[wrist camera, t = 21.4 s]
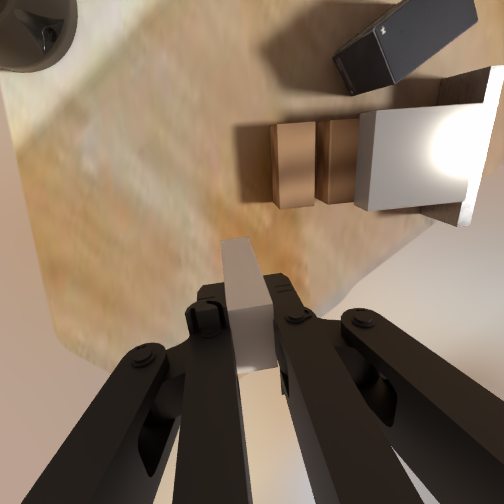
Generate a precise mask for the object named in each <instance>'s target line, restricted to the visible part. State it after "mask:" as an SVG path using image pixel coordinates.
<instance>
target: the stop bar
mask: <svg viewBox="0 0 504 504" xmlns="http://www.w3.org/2000/svg"><path fill="white" fill-rule="evenodd" d="M503 79H504V65H501V66H490V67H486V68H482V69H478V70H475V71H471V72H467V73H463V74H460V75H456V76H452V77H448V78H444V79H441V83H440V90H439V96H438V102H437V106H448V105H462V104H476V103H486V108H485V112H484V117H483V121H482V126H481V130H480V135H479V140H478V144H477V149H476V153H475V158H474V162H473V167H472V172H471V176H470V181H469V185H468V190H467V194H466V199H465V201H463V202H453V203H444V204H434V205H425V206H421V209H420V214H422V215H425V216H428V217H431V218H433V219H436V220H439V221H442V222H444V223H448V224H450V225H453V226H456V227H461V226H470V222H471V217H472V212H473V209H474V204H475V200H476V195H477V191H478V187H479V183H480V178H481V174H482V170H483V165H484V161H485V157H486V152H487V148H488V144H489V139H490V135H491V131H492V126H493V122H494V118H495V113H496V109H497V105H498V101H499V96H500V92H501V88H502V83H503Z"/></svg>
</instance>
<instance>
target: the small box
mask: <svg viewBox="0 0 504 504" xmlns="http://www.w3.org/2000/svg"><path fill="white" fill-rule="evenodd" d="M477 22H478V17H477V12H476V8H475V4H474V0H402V1H401V2H399V3H397V4H396V5H395V6H394V7H392V8H391V9H390V10H388V11H387V12H386V13H385V14H383V15H382V16H381V17H380V18H378V19H377V20H375V21H374V22H373V23H372V24H371V25H369V26H368V27H367V28H366V29H364V30H363V31H362V32H361V33H359V34H357V35H356V36H355V37H354V38H353V39H351V40H350V41H349V42H348V43H347V44H345V45H344V46H343V47H342V48H341V49H339V50H338V51H337V52H336V53H334V54H333V56H332V57H333V60H334V62H335V63H336V65H337V68H338V69H339V72H340V74H341V76H342V78H343V80H344V82H345V84H346V87H347V89H348V91H349V92H350V94H351V96H355V95H359V94H362V93H365V92H369V91H372V90H376V89H379V88H383V87H386V86H390V85H394V84H397V83H398V82H399V81H401V80H402V79H403V78H405V77H406V76H407V75H408V74H410V73H411V72H412V71H414V70H415V69H416V68H418V67H419V66H420V65H422V64H423V63H424V62H425V61H427V60H428V59H429V58H431V57H432V56H433V55H435V54H436V53H437V52H439V51H440V50H441V49H443V48H444V47H445V46H446V45H448V44H449V43H450V42H452V41H453V40H454V39H456V38H457V37H458V36H460V35H461V34H462V33H464V32H465V31H466V30H468V29H469V28H470V27H472V26H473V25H474V24H476V23H477Z"/></svg>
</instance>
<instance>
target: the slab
mask: <svg viewBox="0 0 504 504" xmlns="http://www.w3.org/2000/svg"><path fill="white" fill-rule="evenodd" d="M485 108H486V103H476V104H462V105H448V106H433V107H419V108H404V109H390V110H376V111H371V112H365V113H360V121H359V136H358V150H357V165H356V180H355V194H354V205H355V206H357V207H359V208H361V209H364V210H366V211H376V210H386V209H396V208H405V207H415V206H425V205H434V204H444V203H453V202H463V201H465V199H466V194H467V190H468V185H469V181H470V176H471V172H472V167H473V162H474V158H475V153H476V149H477V144H478V140H479V135H480V130H481V126H482V121H483V117H484V112H485Z"/></svg>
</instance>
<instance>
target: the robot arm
mask: <svg viewBox="0 0 504 504" xmlns="http://www.w3.org/2000/svg"><path fill="white" fill-rule="evenodd" d="M77 17H78V13H77V1H76V0H0V68H3V69H6V70H10V71H15V72H36V71H41V70H44V69H46V68H49V67H51V66H52V65H54V64H56V63H57V62H58V61H59V60H60V59H61V58H62V57H63V56H64V55H65V54H66V53H67V51H68V50H69V48H70V46H71V44H72V42H73V39H74V36H75V33H76V28H77ZM221 251H222V262H223V273H224V282H222V283H216V284H209V285H203V286H202V287H201V288H200V290H199V291H198V293H197V302H195V303H193V304H192V305H190V306H189V307H188V308H187V310H186V312H185V317H186V321H187V325H188V330H189V334H190V336H189V338H188V339H187V340H186V341H184V342H183V343H181V344H179V345H177V346H175V347H172V348H170V349H167V350H165V347H164V346H163V345H161V344H159V343H146V344H142V345H140V346H137V347H135V348H134V349H132V350H130V351H129V352H128V353H127V354H126V355H125V356H124V357H123V358H122V360H121V361H120V362H119V364H118V365H117V367H116V368H115V370H114V371H113V372H112V374H111V375H110V377H109V378H108V380H107V381H106V383H105V384H104V385H103V387H102V388H101V390H100V391H99V393H98V394H97V395H96V397H95V398H94V400H93V401H92V402H91V404H90V405H89V407H88V408H87V410H86V411H85V413H84V414H83V415H82V417H81V418H80V420H79V421H78V423H77V424H76V426H75V427H74V428H73V430H72V431H71V433H70V434H69V436H68V437H67V438H66V440H65V441H64V443H63V444H62V445H61V447H60V448H59V450H58V451H57V453H56V454H55V455H54V457H53V458H52V460H51V461H50V463H49V464H48V465H47V467H46V468H45V470H44V471H43V473H42V474H41V475H40V477H39V478H38V480H37V481H36V483H35V484H34V486H33V487H32V488H31V490H30V491H29V493H28V494H27V495H26V497H25V498H24V500H23V501H22V503H21V504H153V501H154V499H155V495H156V493H157V490H158V487H159V484H160V481H161V478H162V475H163V472H164V470H165V467H166V464H167V461H168V458H169V455H170V452H171V450H172V447H173V444H174V441H175V438H176V435H177V432H178V429H179V427H180V433H179V442H178V452H177V462H176V472H175V481H174V491H173V500H172V504H253V501H252V492H251V483H250V475H249V466H248V457H247V449H246V440H245V432H244V423H243V416H242V406H241V397H240V389H239V381H238V375H237V374H241V373H247V372H252V371H257V370H263V369H269V368H275V367H278V363H279V366H280V377H281V391H282V395H284V394H285V396H286V400H287V403H288V407H289V410H290V414H291V418H292V421H293V425H294V428H295V432H296V435H297V438H298V442H299V446H300V449H301V453H302V457H303V460H304V464H305V467H306V471H307V474H308V478H309V481H310V485H311V488H312V492H313V495H314V499H315V503H316V504H424V503H423V501H422V499H421V497H420V495H419V494H418V492H417V490H416V489H415V487H414V485H413V483H412V482H411V480H410V478H409V476H408V475H407V473H406V471H405V469H404V468H403V466H402V464H401V463H400V461H399V459H398V457H397V456H396V454H395V452H394V451H393V449H394V450H395V451H396V452H397V453H398V455H399V456H400V457H401V458H402V459H403V460H404V462H405V463H406V464H407V465H408V466H409V468H410V469H411V470H412V471H413V472H414V474H415V475H416V476H417V477H418V478H419V479H420V481H421V482H422V483H423V484H424V485H425V487H426V488H427V489H428V490H429V491H430V492H431V494H432V495H433V496H434V497H435V498H436V500H437V501H438V502H439V503H440V504H504V401H503V400H501V399H500V398H498V397H497V396H495V395H494V394H493V393H491V392H490V391H488V390H487V389H485V388H484V387H482V386H481V385H480V384H478V383H477V382H475V381H474V380H472V379H471V378H470V377H468V376H467V375H465V374H464V373H463V372H461V371H460V370H458V369H457V368H456V367H454V366H453V365H451V364H450V363H448V362H447V361H446V360H444V359H443V358H441V357H440V356H438V355H437V354H436V353H434V352H432V351H431V350H430V349H428V348H427V347H426V346H424V345H423V344H421V343H420V342H418V341H417V340H416V339H414V338H413V337H411V336H410V335H408V334H407V333H406V332H404V331H403V330H401V329H400V328H398V327H397V326H396V325H394V324H393V323H391V322H390V321H388V320H387V319H385V318H384V317H383V316H381V315H380V314H378V313H376V312H374V311H372V310H368V309H365V308H354V309H349V310H347V311H345V312H344V313H343V314H342V316H341V320H326V319H321V318H317V317H316V315H315V313H314V312H313V311H312V310H310V309H308V308H306V307H304V306H303V304H302V302H301V300H300V298H299V296H298V295H297V293H296V291H295V290H294V287H293V285H292V283H291V282H290V280H289V278H288V277H287V276H285V275H283V274H282V273H277V274H271V275H264V276H263V275H262V273H261V270H260V267H259V264H258V262H257V259H256V256H255V254H254V251H253V248H252V245H251V243H250V240H249V237H242V238H235V239H227V240H221ZM277 360H278V363H277ZM391 446H392V447H393V449H392V447H391Z"/></svg>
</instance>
